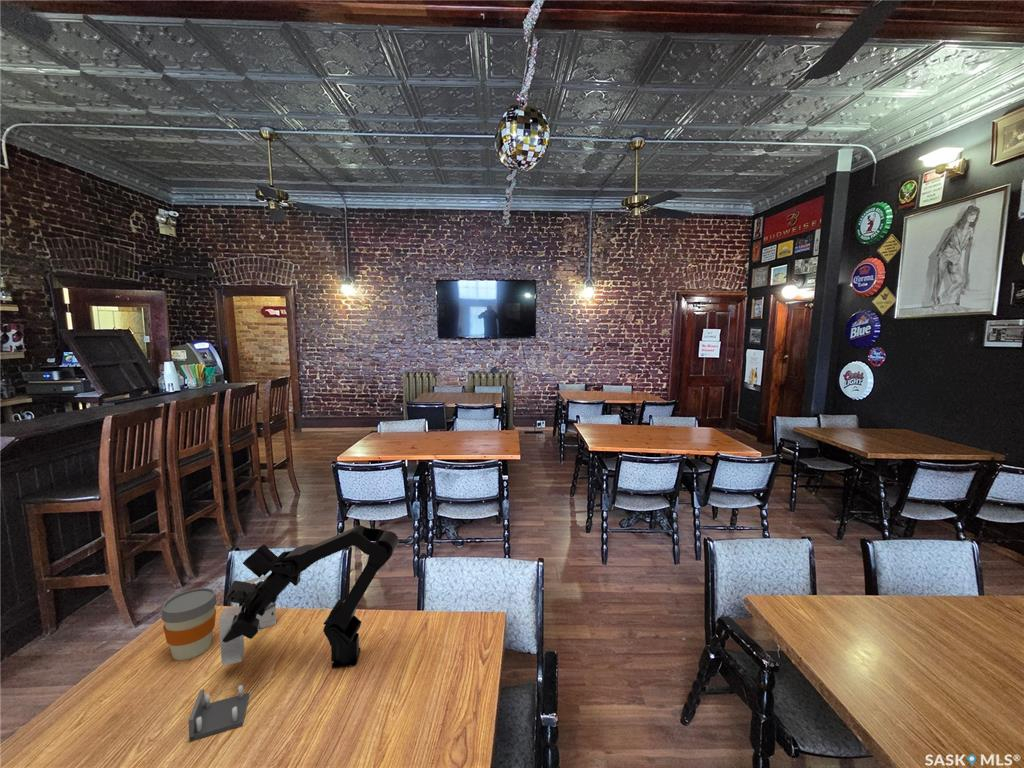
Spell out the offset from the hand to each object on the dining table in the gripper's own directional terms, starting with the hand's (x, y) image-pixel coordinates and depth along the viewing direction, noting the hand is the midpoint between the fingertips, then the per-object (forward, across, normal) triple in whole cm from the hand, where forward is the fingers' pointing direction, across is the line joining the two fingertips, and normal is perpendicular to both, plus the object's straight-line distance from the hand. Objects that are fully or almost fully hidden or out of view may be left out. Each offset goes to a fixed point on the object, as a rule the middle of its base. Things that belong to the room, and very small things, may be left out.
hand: (226, 635), depth 111 cm
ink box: (+4, -19, +11) cm, 23 cm away
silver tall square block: (+4, 0, +6) cm, 7 cm away
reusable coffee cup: (+16, -15, -1) cm, 21 cm away
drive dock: (+6, +16, +9) cm, 19 cm away
